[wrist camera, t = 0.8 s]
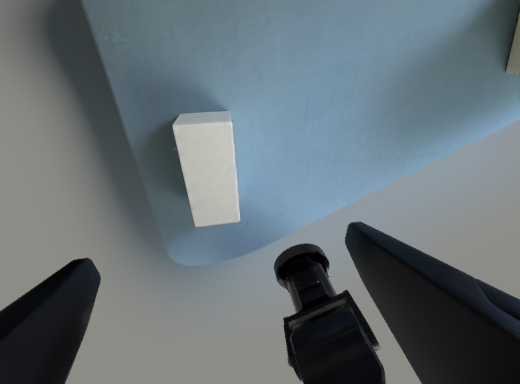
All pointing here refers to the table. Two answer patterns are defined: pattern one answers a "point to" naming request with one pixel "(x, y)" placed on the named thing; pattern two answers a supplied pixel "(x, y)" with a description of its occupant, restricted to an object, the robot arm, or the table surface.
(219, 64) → the table surface
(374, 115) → the table surface
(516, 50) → the container
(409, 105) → the table surface
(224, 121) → the block
